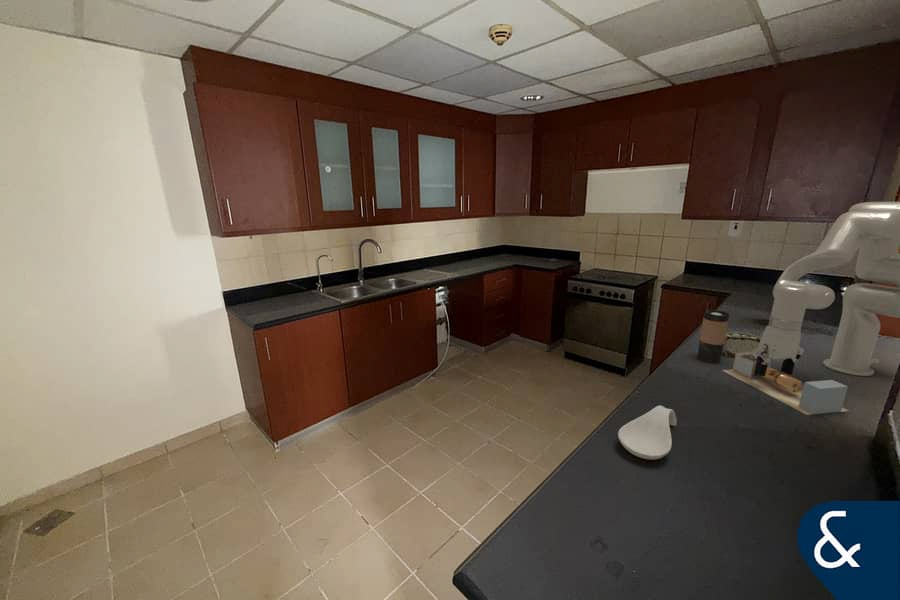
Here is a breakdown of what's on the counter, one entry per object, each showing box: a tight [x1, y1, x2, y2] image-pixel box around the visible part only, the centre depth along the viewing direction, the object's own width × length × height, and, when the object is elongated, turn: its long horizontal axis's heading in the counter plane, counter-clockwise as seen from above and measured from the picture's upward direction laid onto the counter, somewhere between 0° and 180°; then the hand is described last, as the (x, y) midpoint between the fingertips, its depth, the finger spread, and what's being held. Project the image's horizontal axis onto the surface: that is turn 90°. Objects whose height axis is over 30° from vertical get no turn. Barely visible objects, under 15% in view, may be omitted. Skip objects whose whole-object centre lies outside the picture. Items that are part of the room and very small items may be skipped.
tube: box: [745, 357, 804, 393], centre depth 120 cm, size 18×4×4 cm, turn 6°
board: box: [722, 368, 850, 416], centre depth 118 cm, size 14×29×1 cm, turn 6°
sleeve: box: [732, 352, 772, 380], centre depth 126 cm, size 7×7×7 cm
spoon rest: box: [617, 405, 677, 461], centre depth 94 cm, size 24×12×7 cm, turn 133°
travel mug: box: [697, 309, 730, 365], centre depth 138 cm, size 8×8×20 cm
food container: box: [724, 331, 762, 359], centre depth 142 cm, size 12×6×10 cm, turn 71°
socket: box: [799, 379, 849, 415], centre depth 105 cm, size 9×4×8 cm, turn 96°
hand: (773, 373), depth 118 cm, fingers open, 9 cm apart
